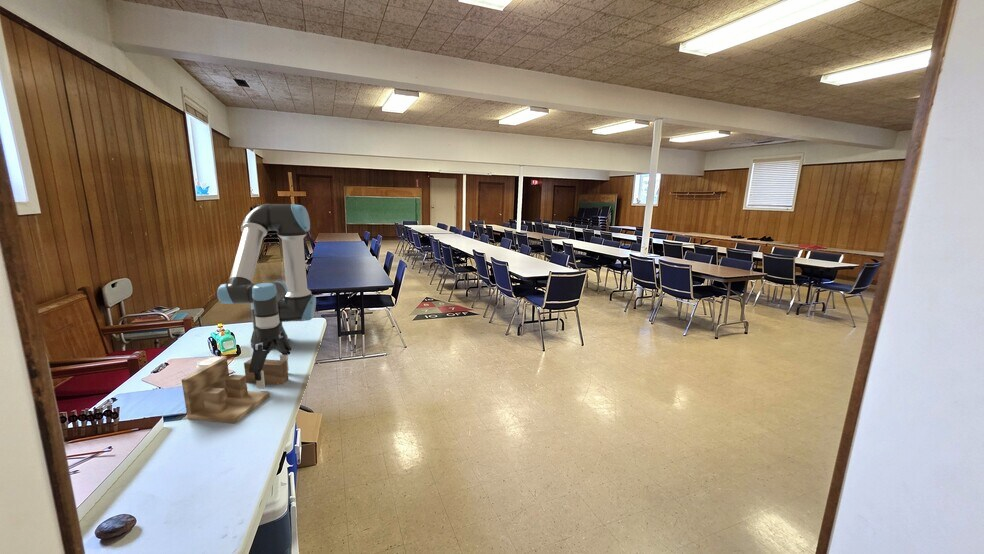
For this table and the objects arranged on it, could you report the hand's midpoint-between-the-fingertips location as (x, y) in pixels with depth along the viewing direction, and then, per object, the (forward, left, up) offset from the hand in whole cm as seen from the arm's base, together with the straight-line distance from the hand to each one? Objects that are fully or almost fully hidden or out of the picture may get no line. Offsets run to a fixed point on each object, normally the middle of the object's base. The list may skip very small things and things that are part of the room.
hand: (273, 378), depth 143 cm
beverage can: (+10, -16, -2) cm, 19 cm away
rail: (0, -3, -1) cm, 3 cm away
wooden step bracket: (+18, -3, -1) cm, 18 cm away
